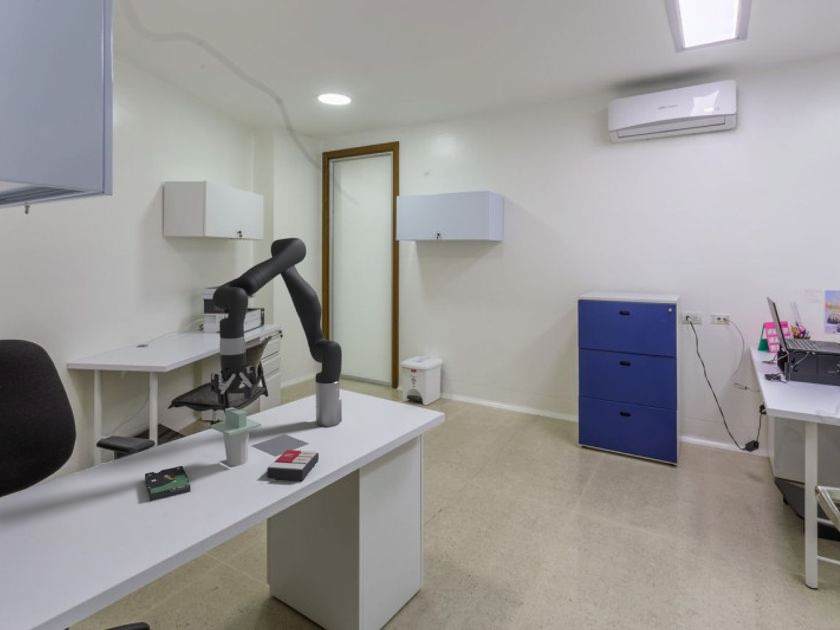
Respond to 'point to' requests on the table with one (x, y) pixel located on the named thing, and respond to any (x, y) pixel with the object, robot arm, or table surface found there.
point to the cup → (236, 448)
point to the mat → (280, 445)
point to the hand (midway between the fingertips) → (235, 401)
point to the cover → (235, 422)
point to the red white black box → (293, 465)
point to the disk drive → (167, 483)
